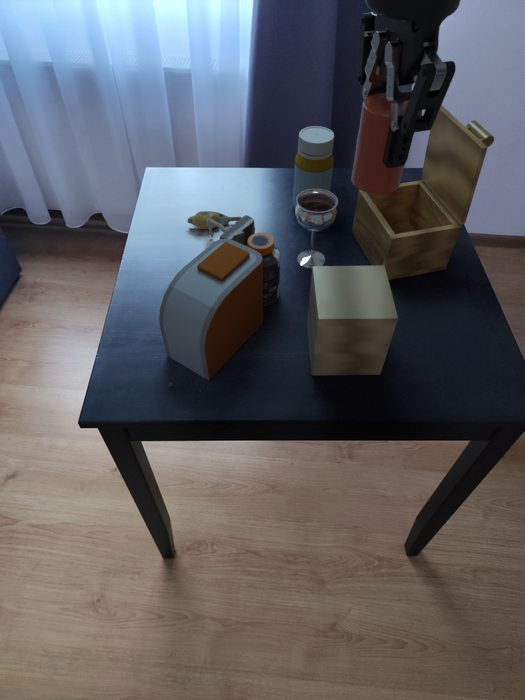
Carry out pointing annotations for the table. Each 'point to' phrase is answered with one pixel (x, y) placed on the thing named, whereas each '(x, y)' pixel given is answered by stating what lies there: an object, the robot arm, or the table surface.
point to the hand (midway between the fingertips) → (381, 149)
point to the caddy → (405, 230)
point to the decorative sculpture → (215, 219)
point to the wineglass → (315, 220)
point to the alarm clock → (213, 306)
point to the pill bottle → (267, 265)
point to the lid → (455, 161)
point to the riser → (349, 320)
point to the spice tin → (375, 148)
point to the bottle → (313, 160)
